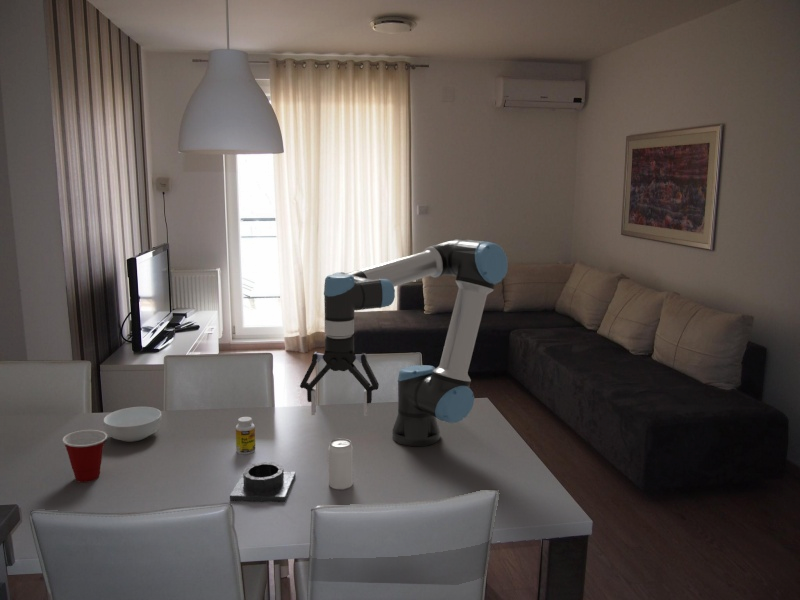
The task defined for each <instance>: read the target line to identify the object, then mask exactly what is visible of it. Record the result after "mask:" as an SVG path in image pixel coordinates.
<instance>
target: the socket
mask: <svg viewBox="0 0 800 600" xmlns="http://www.w3.org/2000/svg"><path fill="white" fill-rule="evenodd" d="M296 476H297V475H296V471H284V468H283V466H282V465H281V464H279V463H275V462H267V461H266V462H264V461H262V462H258V463H253V464H251V465H250V466H247V467H245V469H244V471H243V473H242V474H241V476H240V477H239V480H238V481H237V483H236V484H235V486H234V488H233V489H232V491H231V493H230V495H229V502H251V503H252V502H253V503H256V502H257V503H286V501H287V499H288V497H289V496H288V495H289V493H290V491H291V490H292V486H293V484H294V482H295V479H296Z"/></svg>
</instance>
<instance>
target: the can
mask: <svg viewBox="0 0 800 600" xmlns="http://www.w3.org/2000/svg"><path fill="white" fill-rule="evenodd" d="M327 453H328V485H329V487H330V488H331V489H333V490H336V491H344V490H348V489H350V488H351V487H352V486H353V484H354V448H353V445H352V441H351V440H350V439H347V438H334V439H332V440H331V441H330V442H329V446H328V452H327Z"/></svg>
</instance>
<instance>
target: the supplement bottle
mask: <svg viewBox="0 0 800 600" xmlns="http://www.w3.org/2000/svg"><path fill="white" fill-rule="evenodd" d="M255 427H256V426H255V424H254V423H253V418H252V417H250V416H242V417H241V416H240V417H239V418H238V419H237V424H236V426H235V446H236V449H235V450H236V452H237V453H238V454H240V455H249V454H252V453H254V452H255V451H256V428H255Z"/></svg>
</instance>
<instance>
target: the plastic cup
mask: <svg viewBox="0 0 800 600" xmlns="http://www.w3.org/2000/svg"><path fill="white" fill-rule="evenodd" d="M107 438H108V434H107V432H106V431H102V430H97V429H83V430H82V429H81V430H78V431H77V430H76V431H74V432H70V433H67V434H65V436H63V438H62V442H63V444H64V446H65V448H66V452H67V455H68V459H69V462H70V466H71V470H72V472H73V474H74V478H75V480H76V482H78V481H79V483H88V482H89V481H90V482H93V481H95V480H97V479H98V478H99V477H100V474H101V466H102V460H103V451H104V445H105V442H106V440H107ZM90 482H89V483H90Z"/></svg>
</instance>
